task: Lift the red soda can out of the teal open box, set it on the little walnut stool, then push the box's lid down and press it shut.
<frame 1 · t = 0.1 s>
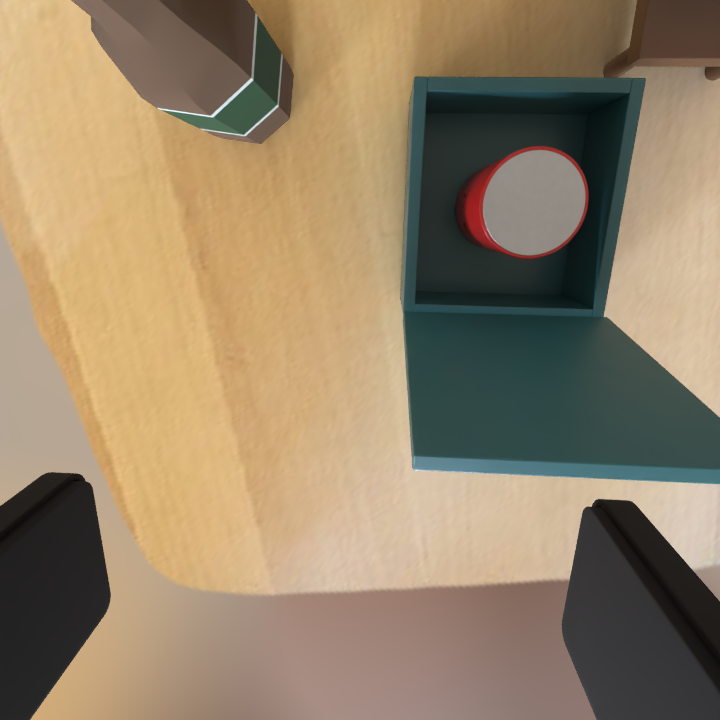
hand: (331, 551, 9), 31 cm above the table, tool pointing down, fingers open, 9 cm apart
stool: (673, 12, 32), on the table
beer bottle: (247, 91, 35), on the table
soda can: (493, 208, 35), point 1 cm above the table, touching teal open box
lid: (535, 374, 24), point 15 cm above the table, hinge at 100.0°
teal open box: (491, 208, 36), on the table
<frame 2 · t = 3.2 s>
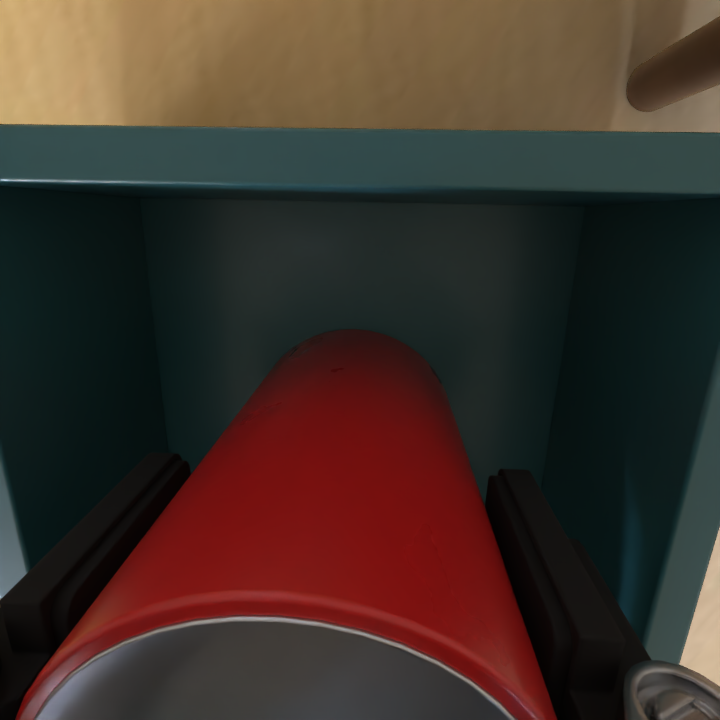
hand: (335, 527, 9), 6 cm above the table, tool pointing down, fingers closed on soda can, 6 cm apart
soda can: (353, 422, 14), point 1 cm above the table, touching teal open box, gripper
teal open box: (354, 412, 15), on the table
when the fingers open (11 cm above the table, at t = 10.0 s): soda can stays where it is, resting on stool.
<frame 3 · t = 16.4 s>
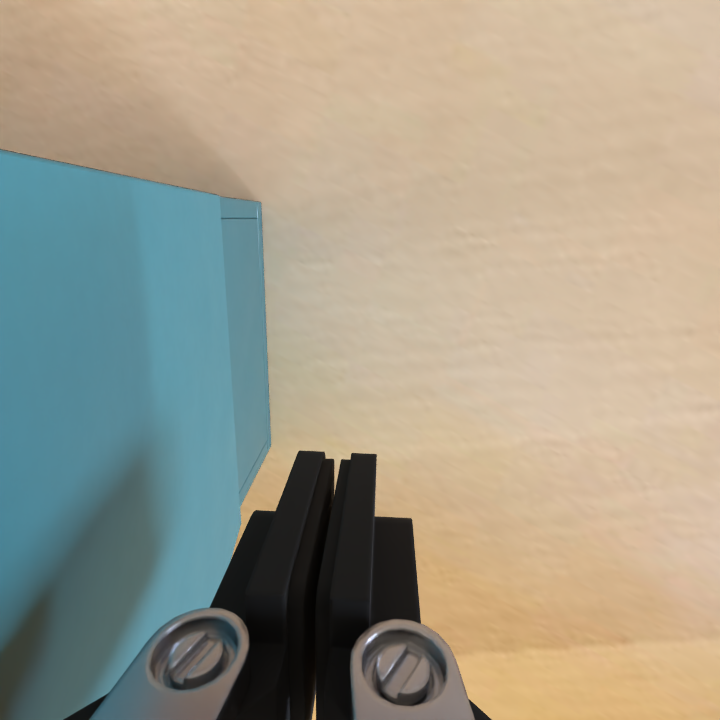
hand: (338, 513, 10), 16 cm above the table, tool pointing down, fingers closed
lid: (150, 485, 11), point 15 cm above the table, hinge at 96.8°
teal open box: (135, 329, 25), on the table
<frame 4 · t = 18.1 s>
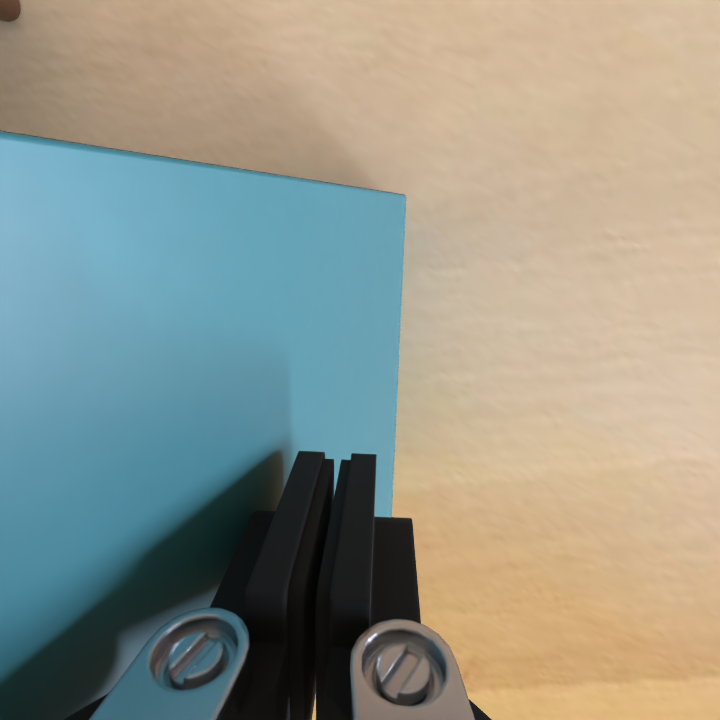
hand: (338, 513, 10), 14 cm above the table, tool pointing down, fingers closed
lid: (251, 521, 10), point 14 cm above the table, hinge at 68.4°, touching gripper
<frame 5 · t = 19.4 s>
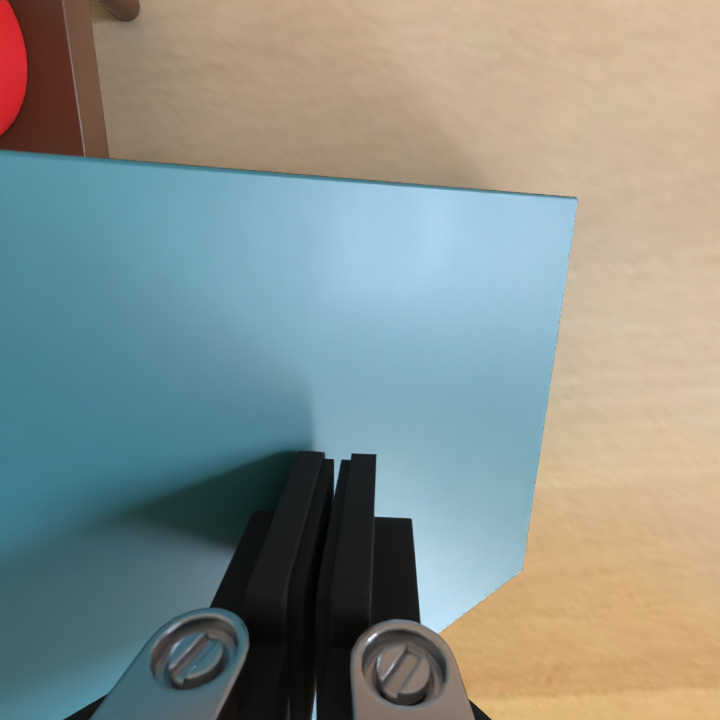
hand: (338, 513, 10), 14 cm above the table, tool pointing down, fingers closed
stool: (61, 97, 21), on the table
lid: (364, 472, 12), point 12 cm above the table, hinge at 41.2°, touching gripper
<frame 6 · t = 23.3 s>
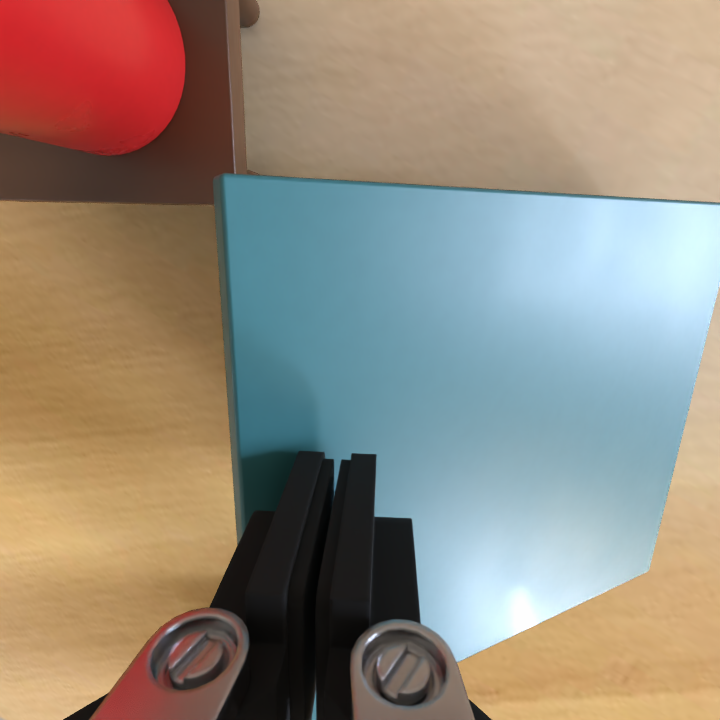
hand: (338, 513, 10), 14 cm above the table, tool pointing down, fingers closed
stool: (173, 102, 21), on the table
soda can: (96, 56, 15), point 6 cm above the table, touching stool
lid: (512, 448, 13), point 11 cm above the table, hinge at 28.6°, touching gripper
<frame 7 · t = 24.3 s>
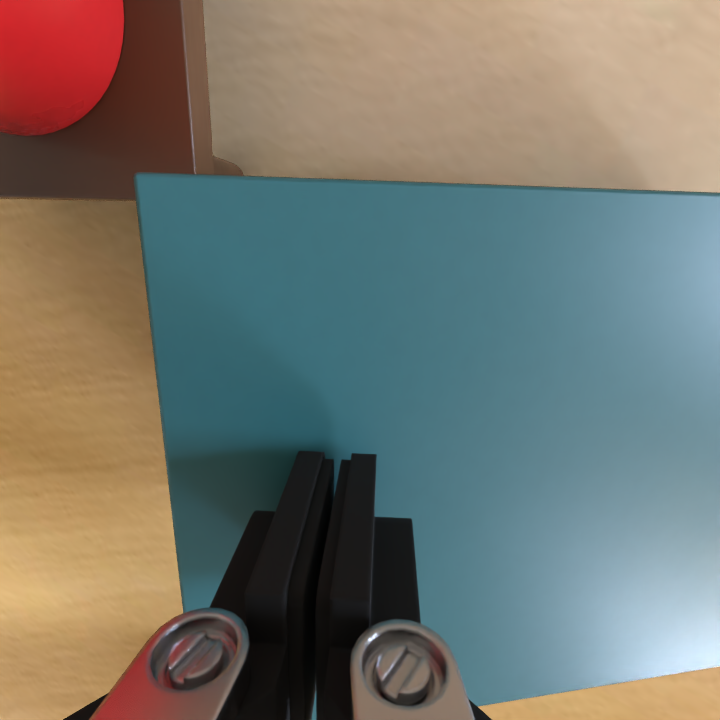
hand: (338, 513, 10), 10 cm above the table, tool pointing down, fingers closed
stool: (130, 76, 17), on the table
soda can: (5, 2, 11), point 6 cm above the table, touching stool
lid: (507, 484, 11), point 9 cm above the table, hinge at 12.4°, touching gripper
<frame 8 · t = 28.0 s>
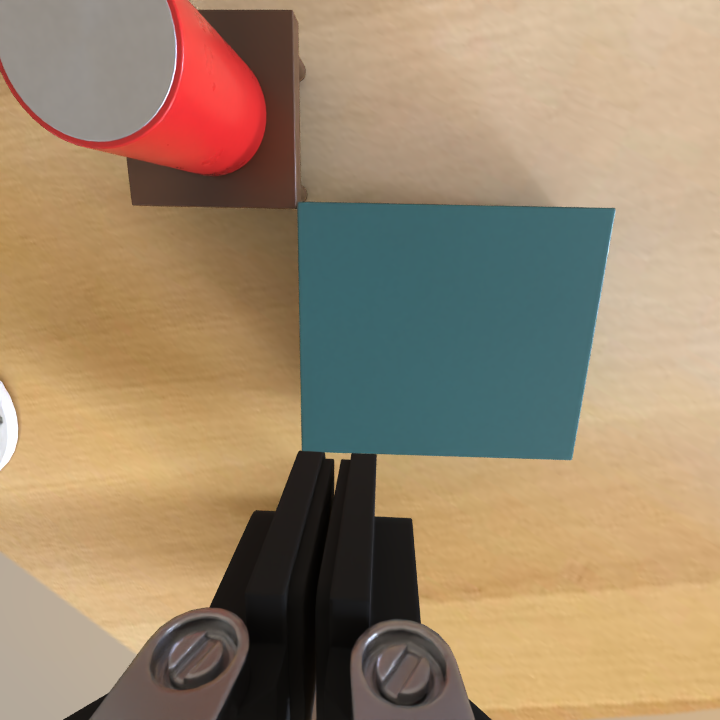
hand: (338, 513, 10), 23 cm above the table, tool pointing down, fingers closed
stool: (242, 134, 29), on the table
soda can: (208, 112, 23), point 6 cm above the table, touching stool
lid: (444, 339, 25), point 7 cm above the table, hinge at 1.6°
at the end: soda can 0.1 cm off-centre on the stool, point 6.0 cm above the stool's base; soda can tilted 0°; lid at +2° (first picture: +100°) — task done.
